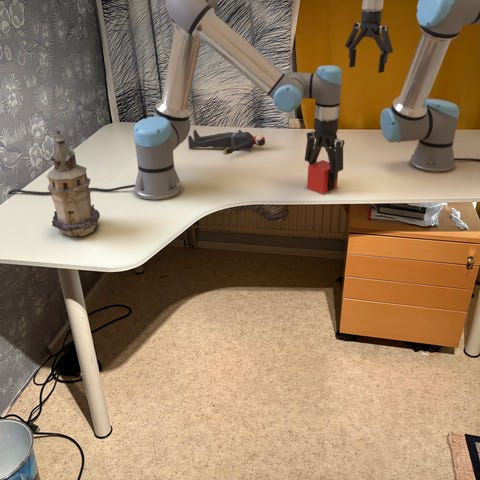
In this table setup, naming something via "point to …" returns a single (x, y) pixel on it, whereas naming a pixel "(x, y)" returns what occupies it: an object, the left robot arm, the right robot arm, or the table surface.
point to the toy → (226, 141)
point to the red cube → (319, 177)
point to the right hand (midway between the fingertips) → (366, 69)
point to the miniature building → (70, 193)
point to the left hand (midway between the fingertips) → (322, 185)
